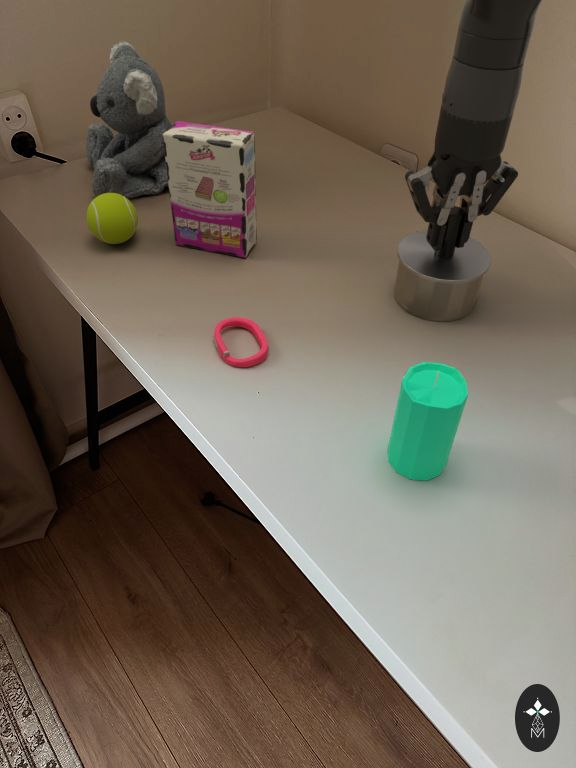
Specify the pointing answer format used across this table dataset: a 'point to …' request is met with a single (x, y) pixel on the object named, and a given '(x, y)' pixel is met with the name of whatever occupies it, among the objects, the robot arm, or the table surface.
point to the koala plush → (128, 128)
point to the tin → (434, 296)
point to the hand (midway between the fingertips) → (446, 245)
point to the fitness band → (250, 326)
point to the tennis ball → (112, 218)
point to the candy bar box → (212, 187)
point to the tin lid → (445, 255)
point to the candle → (426, 420)
